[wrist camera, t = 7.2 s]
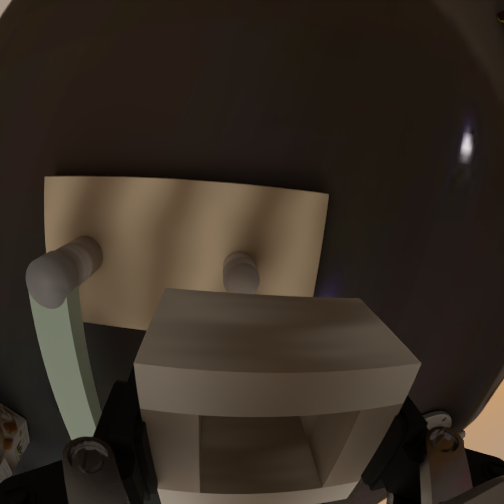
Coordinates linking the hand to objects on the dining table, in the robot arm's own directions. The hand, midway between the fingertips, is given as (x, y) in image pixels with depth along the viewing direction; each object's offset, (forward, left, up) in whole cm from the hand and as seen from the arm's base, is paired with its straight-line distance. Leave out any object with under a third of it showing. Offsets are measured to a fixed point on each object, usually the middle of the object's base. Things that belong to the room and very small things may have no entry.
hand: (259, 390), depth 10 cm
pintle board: (+5, 0, -15) cm, 16 cm away
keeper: (+12, +7, -9) cm, 17 cm away
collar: (0, 0, -1) cm, 1 cm away
